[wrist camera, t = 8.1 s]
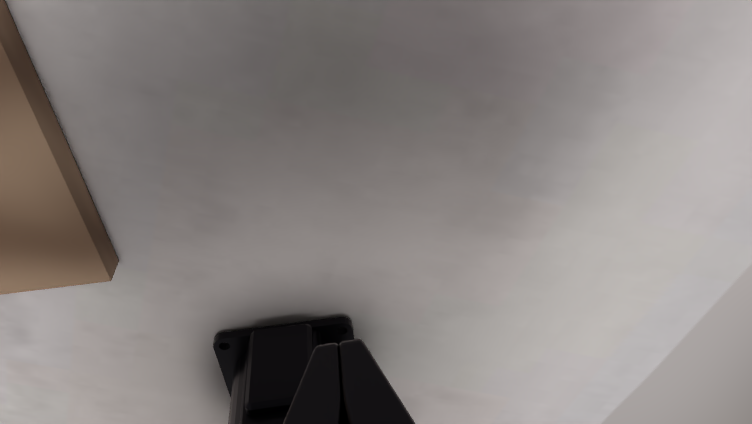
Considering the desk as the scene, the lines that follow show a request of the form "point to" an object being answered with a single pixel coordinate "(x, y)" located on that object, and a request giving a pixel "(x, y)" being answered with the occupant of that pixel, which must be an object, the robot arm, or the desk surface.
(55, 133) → the brown wooden board
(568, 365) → the desk surface
